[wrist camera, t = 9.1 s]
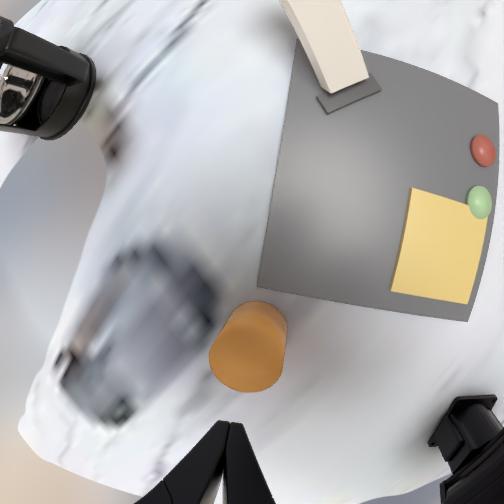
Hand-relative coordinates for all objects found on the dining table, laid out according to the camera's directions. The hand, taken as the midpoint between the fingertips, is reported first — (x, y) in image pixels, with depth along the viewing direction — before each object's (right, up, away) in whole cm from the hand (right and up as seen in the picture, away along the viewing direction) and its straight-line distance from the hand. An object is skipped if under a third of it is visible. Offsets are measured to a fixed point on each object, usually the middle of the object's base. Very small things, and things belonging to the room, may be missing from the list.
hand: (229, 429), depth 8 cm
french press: (-18, +21, +12) cm, 30 cm away
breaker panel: (+11, +11, +9) cm, 18 cm away
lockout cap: (+1, 0, +13) cm, 13 cm away
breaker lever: (+7, +16, +8) cm, 20 cm away
